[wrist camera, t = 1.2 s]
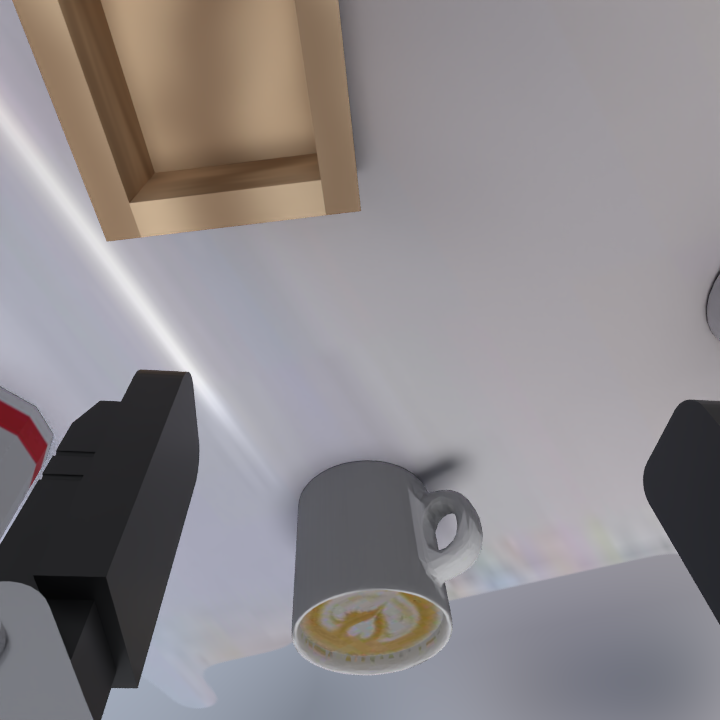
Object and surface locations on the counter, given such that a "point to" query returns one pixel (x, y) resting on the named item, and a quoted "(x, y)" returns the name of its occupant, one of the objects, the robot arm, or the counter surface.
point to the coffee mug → (376, 568)
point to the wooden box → (199, 109)
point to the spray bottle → (19, 452)
